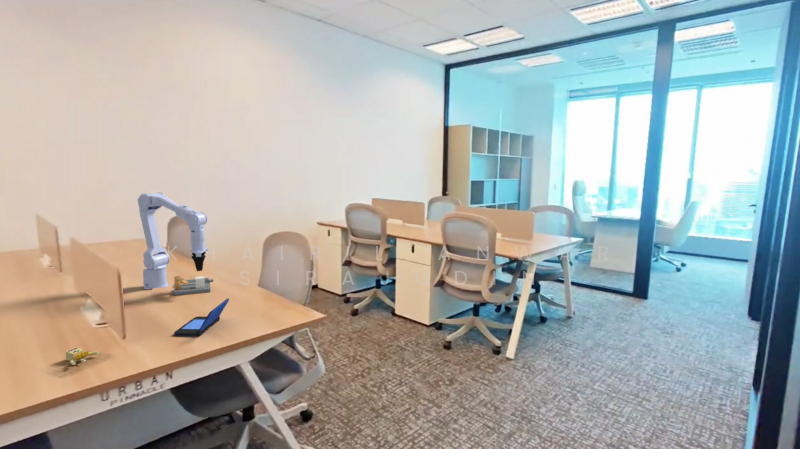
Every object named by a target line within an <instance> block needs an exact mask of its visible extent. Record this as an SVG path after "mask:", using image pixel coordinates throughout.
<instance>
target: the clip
mask: <svg viewBox="0 0 800 449" xmlns="http://www.w3.org/2000/svg"><path fill="white" fill-rule="evenodd" d="M186 280H187V279H184V278H183V277H181V275H177V276H174V289H175V290H180V289H181V283H182V284H184V285H188V284H189V282H188V281H186Z"/></svg>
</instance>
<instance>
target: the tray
mask: <svg viewBox="0 0 800 449" xmlns="http://www.w3.org/2000/svg"><path fill="white" fill-rule="evenodd" d="M208 279H210V277H204V280H208ZM185 280H186V281H188V282H189V284H188V285H184V284H182V283H181V286H190V285H196V278H193V279H192V278H191V279H190V278H189V279H185ZM205 284H210V285H211V282H209V283H205Z"/></svg>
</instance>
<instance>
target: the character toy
mask: <svg viewBox="0 0 800 449" xmlns="http://www.w3.org/2000/svg"><path fill="white" fill-rule="evenodd" d="M100 354H101V352H100V351H90V352H89V351H84V349H82V348H79V347H72V348H70V349H67V350H66V351H65V360H67V361H69V364H70V365H72V366H75V365H76V363H77V362H80V361H81V362H86V361H87V360H86V359H85V357H89V356H94V355H95V356H96V355H97V356H98V355H100Z"/></svg>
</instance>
